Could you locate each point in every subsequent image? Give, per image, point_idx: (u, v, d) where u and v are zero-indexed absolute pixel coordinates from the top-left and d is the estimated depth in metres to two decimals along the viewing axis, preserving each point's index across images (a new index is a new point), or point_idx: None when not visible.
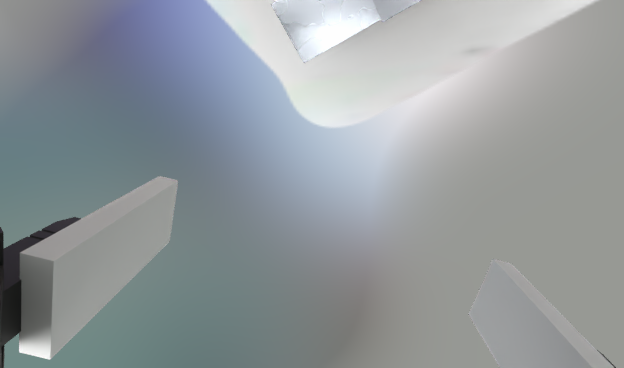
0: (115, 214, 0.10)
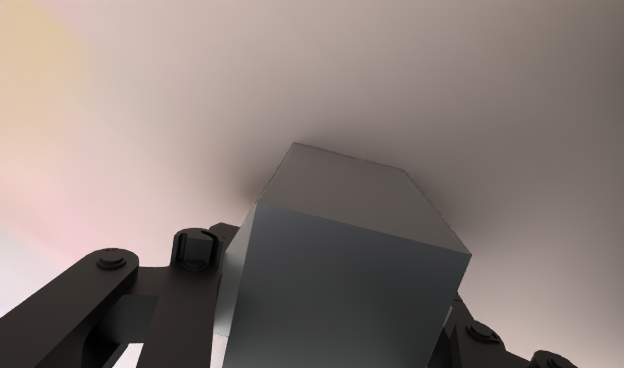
0: None
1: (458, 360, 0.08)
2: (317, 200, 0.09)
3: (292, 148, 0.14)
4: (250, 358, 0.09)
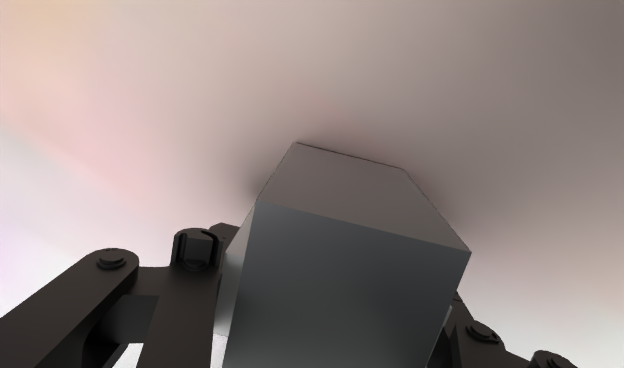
0: None
1: (458, 360, 0.08)
2: (317, 199, 0.09)
3: (292, 148, 0.14)
4: (250, 357, 0.09)
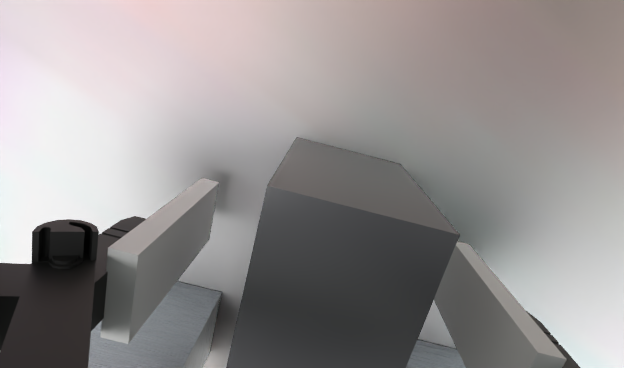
0: (175, 213, 0.11)
1: None
2: (321, 186, 0.10)
3: (295, 142, 0.15)
4: (258, 330, 0.10)
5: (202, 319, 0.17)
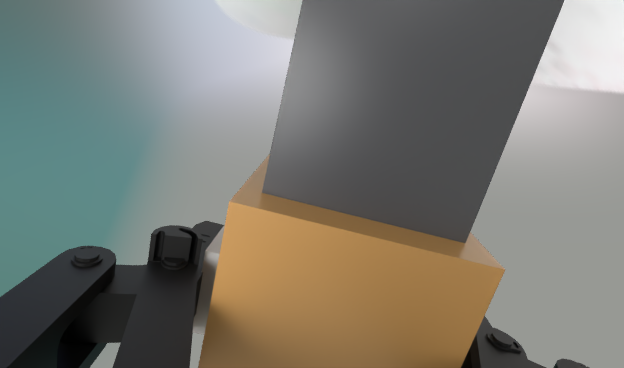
0: None
1: None
2: None
3: None
4: None
5: None
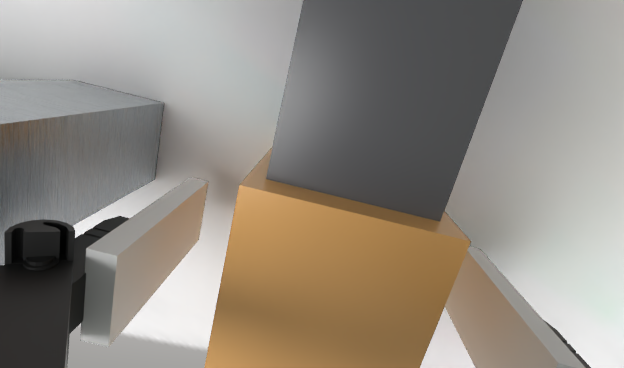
0: (160, 213, 0.11)
1: None
2: None
3: None
4: None
5: None
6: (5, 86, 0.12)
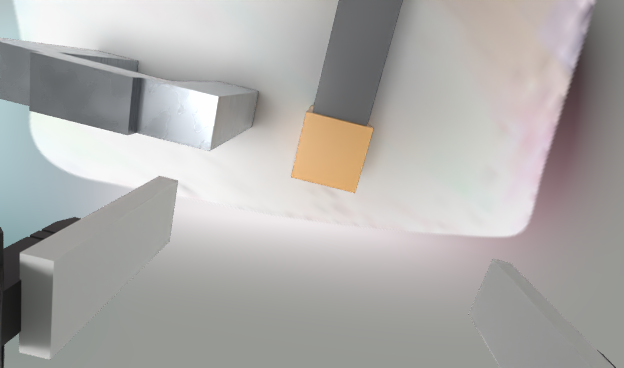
0: (115, 214, 0.10)
1: None
2: None
3: None
4: None
5: (124, 59, 0.36)
6: (213, 83, 0.34)
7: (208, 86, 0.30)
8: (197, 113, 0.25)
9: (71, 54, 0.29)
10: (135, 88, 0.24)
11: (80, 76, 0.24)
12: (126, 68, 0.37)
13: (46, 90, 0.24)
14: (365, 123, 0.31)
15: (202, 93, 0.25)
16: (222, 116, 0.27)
